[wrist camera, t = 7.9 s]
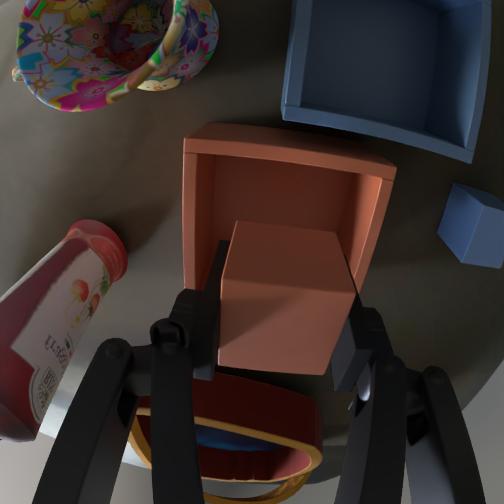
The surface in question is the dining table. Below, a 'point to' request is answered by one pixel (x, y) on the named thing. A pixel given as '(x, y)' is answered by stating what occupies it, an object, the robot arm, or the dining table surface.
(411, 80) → the slate bin
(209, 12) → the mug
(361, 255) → the terracotta bin
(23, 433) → the liquor
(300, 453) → the decorative basket
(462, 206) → the slate block
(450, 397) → the robot arm
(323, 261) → the terracotta block
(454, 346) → the dining table surface
